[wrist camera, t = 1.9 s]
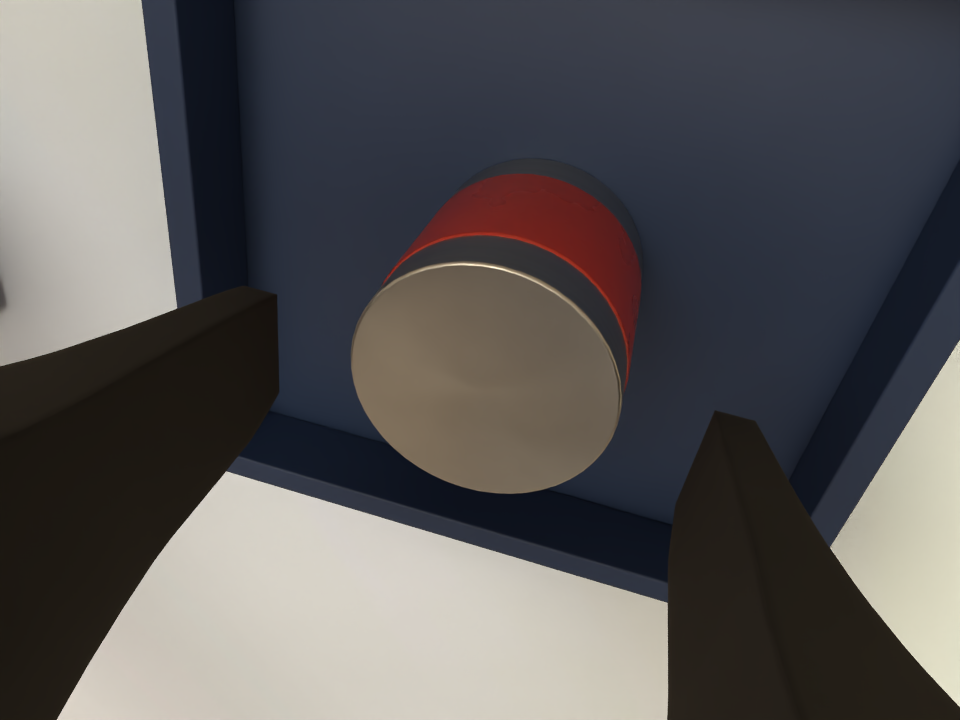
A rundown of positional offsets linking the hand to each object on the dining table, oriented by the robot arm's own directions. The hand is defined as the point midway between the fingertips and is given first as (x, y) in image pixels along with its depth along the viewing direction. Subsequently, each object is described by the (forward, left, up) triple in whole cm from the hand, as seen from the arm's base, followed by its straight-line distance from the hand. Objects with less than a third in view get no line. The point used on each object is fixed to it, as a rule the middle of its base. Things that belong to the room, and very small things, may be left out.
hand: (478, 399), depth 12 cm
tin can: (0, 0, -5) cm, 5 cm away
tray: (0, 0, -6) cm, 6 cm away
